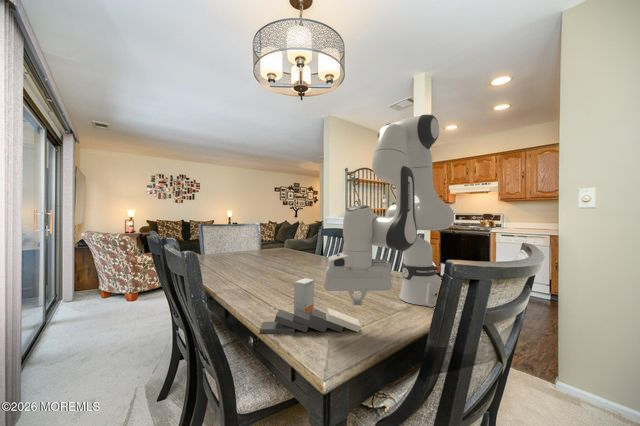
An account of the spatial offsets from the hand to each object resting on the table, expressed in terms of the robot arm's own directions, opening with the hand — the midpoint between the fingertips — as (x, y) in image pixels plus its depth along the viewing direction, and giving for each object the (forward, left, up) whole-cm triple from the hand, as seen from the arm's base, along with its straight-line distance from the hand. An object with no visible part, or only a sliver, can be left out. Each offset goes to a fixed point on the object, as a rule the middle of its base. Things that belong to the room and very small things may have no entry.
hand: (357, 304), depth 77 cm
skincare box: (+13, -14, -7) cm, 20 cm away
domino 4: (+4, -1, -6) cm, 8 cm away
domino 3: (+9, -3, -6) cm, 11 cm away
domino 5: (0, 0, -6) cm, 6 cm away
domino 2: (+14, -4, -6) cm, 16 cm away
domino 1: (+18, -5, -7) cm, 20 cm away
